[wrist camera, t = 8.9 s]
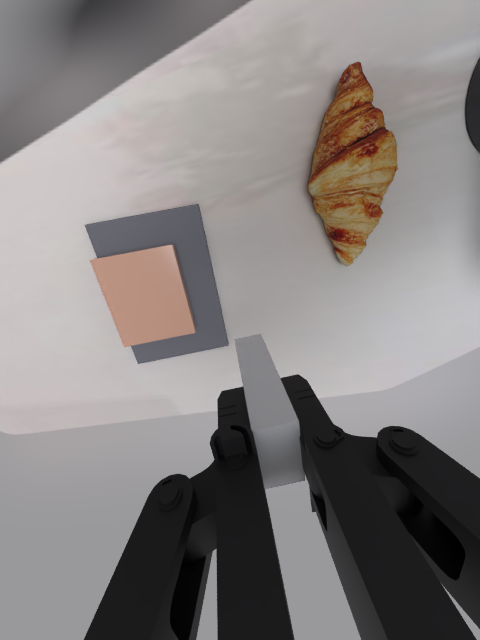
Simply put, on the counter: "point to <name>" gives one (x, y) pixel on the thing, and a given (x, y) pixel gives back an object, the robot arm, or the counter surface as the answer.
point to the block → (145, 294)
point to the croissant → (352, 165)
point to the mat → (195, 266)
